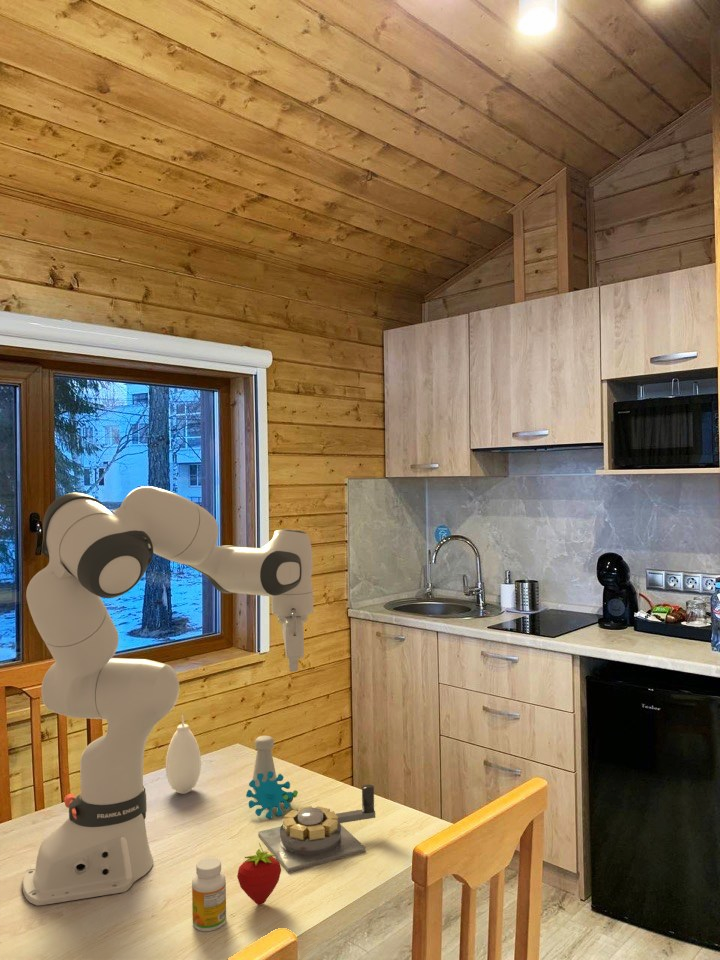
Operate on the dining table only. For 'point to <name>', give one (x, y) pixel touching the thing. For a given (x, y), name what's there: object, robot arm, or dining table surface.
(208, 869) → the supplement bottle
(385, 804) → the dining table surface
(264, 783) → the teal virus model
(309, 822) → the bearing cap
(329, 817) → the ring nut
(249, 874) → the strawberry
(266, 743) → the salt shaker
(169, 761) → the white air blower bulb
